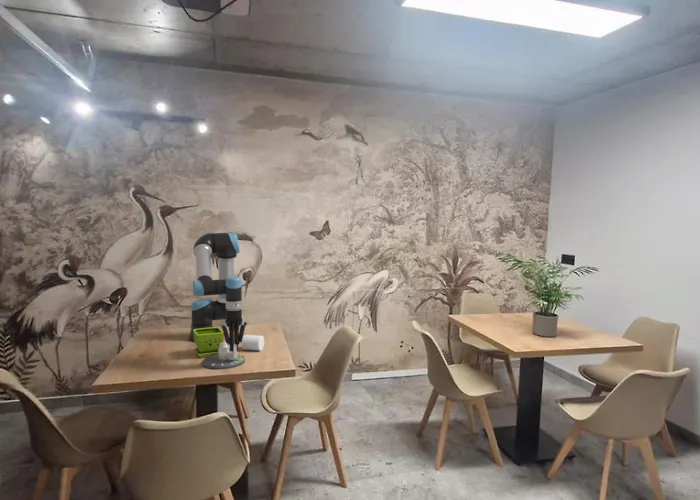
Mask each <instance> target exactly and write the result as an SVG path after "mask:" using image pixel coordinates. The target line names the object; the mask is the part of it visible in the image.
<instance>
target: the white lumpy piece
mask: <svg viewBox="0 0 700 500" xmlns="http://www.w3.org/2000/svg"><path fill="white" fill-rule="evenodd" d="M218 352H219V360H220V361H225V360H228V359H229V358H232V352H231V351H230V345H228V344H227V343H226V341H225V340H223V342H222V343H220V347H218ZM241 355H242V352H238V351H237V358H232V359H241Z"/></svg>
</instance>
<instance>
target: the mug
mask: <svg viewBox="0 0 700 500" xmlns="http://www.w3.org/2000/svg"><path fill="white" fill-rule="evenodd" d="M240 343H241V344H240V345H241V349H242V350H245V351H258V352H262V351H263V349H264V346H265V337H264V335H258V334H257V335H253V334H243V339H242V342H240Z"/></svg>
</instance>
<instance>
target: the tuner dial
mask: <svg viewBox="0 0 700 500" xmlns="http://www.w3.org/2000/svg"><path fill="white" fill-rule="evenodd" d="M245 358H246V357H245V355H242V354H241V359H232V358H229V359H228V360H225V361H220V360H219V354H217V355H213V356H209V357H204V358H203V360H202V367H204V368H206V369H210V370H226V369H232V368H237V367H240V366H242V365H243V364H244V363H245V362H246V361H245V360H246V359H245Z"/></svg>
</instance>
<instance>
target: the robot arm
mask: <svg viewBox="0 0 700 500" xmlns="http://www.w3.org/2000/svg"><path fill="white" fill-rule="evenodd" d="M192 249H193V254H194V256H195V269H196V272H195V273H196V280H193V281H192V294H193V296H200V297H204V296H205V297H207V296H216V295H217V296H216V297H215V300H213V299H212V298H209V297H207V298H201V299H197V300H194V301H193V302H192V303H191V309H190V311H191V328H190V332H189V334H188V340H189V341H190V342H194V343H195V340H194V335H193V329H200V328H211V327H214V326H213V321H221V320H222V321H223V320H224V323H223V324H221V325H220V328H221V330H222V331H223V333H224V341H226V343H227V345H229V352H232V358H237V352H238V351H239V345H240V343H241V342H242V339H243V336H244V335H245V334H244V333H245V330H246V329H245V328H246V326H247V325H248V322H246V321H244V320H243V317H242V316H243V309H242V308H243V303H242V302H243V301H242V300H243V299H242V298H243V297H242V296H243V295H242V294H243V293H242V291H243V290H242V289H243V288H242V287H243V281H242V277H239V276H235V275H234V274H235V259H236V258H237V256H238V254H239V253H240V252H241V251H240V243H239V237H238V234H237V233H234V232H215V233H214V232H210V233H205V234H203V235H202V236H200V237H198V239H197V240H196V241H195V243H194V245H193V248H192ZM213 254H214V255H215V257H216V259H217V260H218V279H213V273H212V272H213V271H212V270H213V269H212V259H211V258H212V257H211V255H213ZM227 328H228V329H227ZM228 331H229V332H228ZM198 335H199V334H198Z"/></svg>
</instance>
